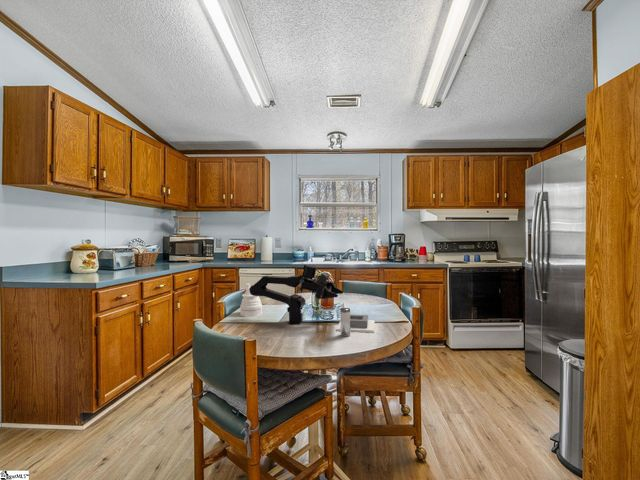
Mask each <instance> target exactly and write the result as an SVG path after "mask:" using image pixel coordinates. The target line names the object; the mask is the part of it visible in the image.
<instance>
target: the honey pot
mask: <svg viewBox="0 0 640 480" xmlns="http://www.w3.org/2000/svg"><path fill="white" fill-rule="evenodd" d="M251 286H252V285H251V283H245V287H247V289H246V290H245V292H244V293H243V294H242V295H241V296H242V299H241V303H240V306H239V308H240V309H239V312H240V316H241V317H245V316H248V317H249V318H251V317H258V316H261V315H262V314H263V304H262V301H261V298H260V296H253V295H251V294H250V291H249V289H250V287H251Z"/></svg>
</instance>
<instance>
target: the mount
mask: <svg viewBox="0 0 640 480" xmlns="http://www.w3.org/2000/svg"><path fill="white" fill-rule="evenodd" d="M375 324H376V323H375V320H374V319H369V315H368V314H351V313H350V333H352V332H353V333H375ZM336 332H341V319H340V321H339V323H338V325H337V327H336Z"/></svg>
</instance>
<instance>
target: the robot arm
mask: <svg viewBox="0 0 640 480" xmlns="http://www.w3.org/2000/svg"><path fill="white" fill-rule="evenodd" d="M316 273H317V266H315V265H313V264H312V265H311V264H304V265H303V271H302V274H300V275H299V274H298V275H292V276H276V275H275V276H274V275H273V276H272V275H263V276H262V277H261V278H260V279H259V280H257V282H255V283H254V284H253V285H250V286H251V287H250V289H249V291H250V294H251V295H253V296H259V297H266V298H268V299H271V300H273V301H276V302H277V301H278V302H281V303H284V304H286V305H288V307H287V308H286V310H287V312H288V322H287V323H288V324H291V325H292V324H295V325H300V324H301V323H302V322H303V320H304V319H303V318H304V317H303V315H304V314H303V311H302V310H303V308H304V306H306V299H305V297H303V296H302V295H299V294H297V293H293V294H292V295H288V294H284V293H282V292H278V291H275V290H272V289H269V288H268V287H267V286H268V284H273V285H285V286H287V287H291V288H297V287H299V288H298V290H299V292H300V293H304V292H305V290H306V291H308V292H311V293H312V294H315V298H316V299H318V300H325V299H332V298H338V296H339V295H341V294H343V293H344V291H343V290H341V289H340V288H338V287H336V285H335V283H334V281H328V282H327V280H328V278H329V277H330V275H329V274H328V272H322V273H321V274H320V276H319V278H318V279H317V280H313V279H314V278H315V277H316Z"/></svg>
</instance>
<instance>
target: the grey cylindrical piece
mask: <svg viewBox="0 0 640 480" xmlns="http://www.w3.org/2000/svg"><path fill="white" fill-rule="evenodd" d="M339 310H340V313H339V316H340V320H341V331H340V336H341V337H343V338H348V337H350V336H351V332H350V314H351V308H348V307H341V308H340V309H339Z"/></svg>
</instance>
